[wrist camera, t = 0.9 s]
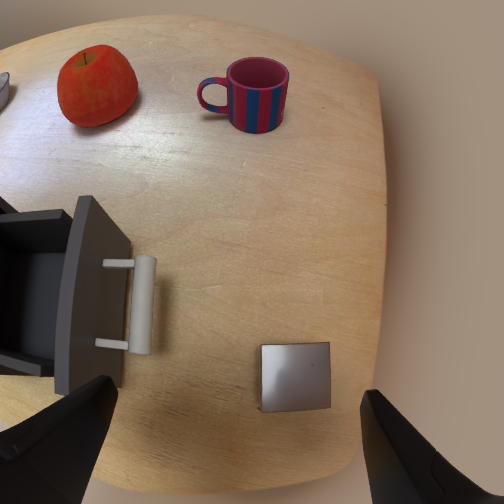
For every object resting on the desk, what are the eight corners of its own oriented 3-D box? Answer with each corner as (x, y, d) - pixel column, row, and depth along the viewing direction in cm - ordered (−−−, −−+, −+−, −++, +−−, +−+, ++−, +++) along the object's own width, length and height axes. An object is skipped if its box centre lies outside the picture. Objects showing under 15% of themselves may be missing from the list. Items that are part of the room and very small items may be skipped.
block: (315, 399, 23) (331, 408, 19) (257, 402, 23) (261, 412, 19) (314, 344, 25) (330, 341, 20) (257, 346, 25) (260, 344, 20)
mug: (285, 134, 33) (293, 91, 27) (199, 135, 33) (192, 92, 26) (280, 98, 35) (285, 57, 29) (203, 99, 35) (198, 58, 28)
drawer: (174, 241, 27) (147, 191, 19) (167, 393, 22) (130, 409, 14) (17, 243, 26) (-30, 209, 18) (3, 360, 22) (-54, 352, 13)
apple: (83, 152, 32) (47, 94, 22) (66, 113, 35) (39, 62, 25) (154, 109, 34) (136, 44, 24) (127, 77, 37) (110, 23, 27)
